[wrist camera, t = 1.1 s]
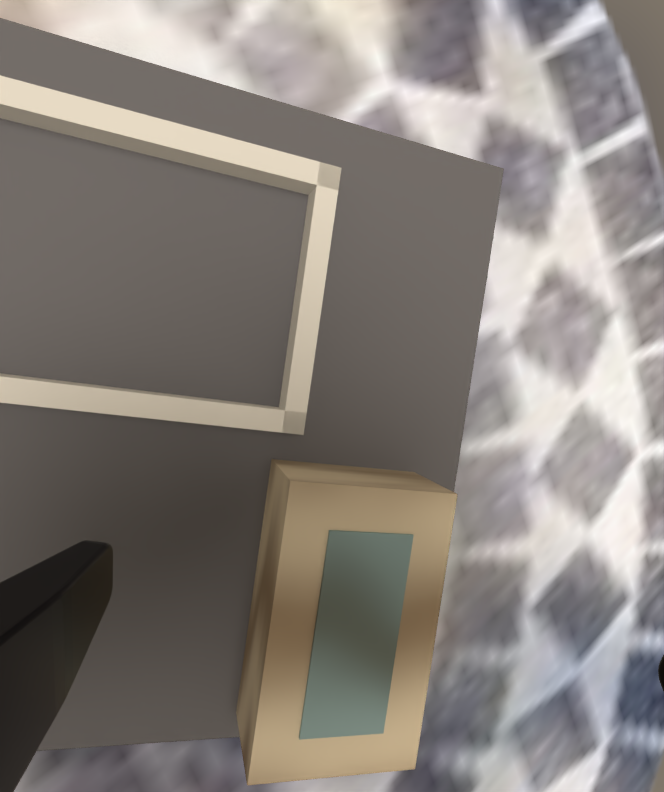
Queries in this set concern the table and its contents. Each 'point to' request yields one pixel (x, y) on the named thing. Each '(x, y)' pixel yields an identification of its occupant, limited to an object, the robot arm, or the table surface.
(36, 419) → the mat
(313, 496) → the slab
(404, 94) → the table surface
